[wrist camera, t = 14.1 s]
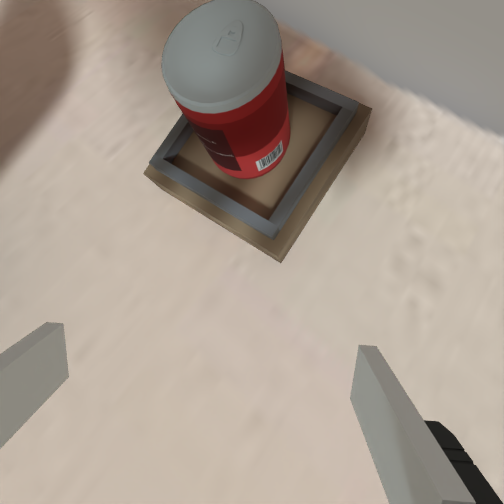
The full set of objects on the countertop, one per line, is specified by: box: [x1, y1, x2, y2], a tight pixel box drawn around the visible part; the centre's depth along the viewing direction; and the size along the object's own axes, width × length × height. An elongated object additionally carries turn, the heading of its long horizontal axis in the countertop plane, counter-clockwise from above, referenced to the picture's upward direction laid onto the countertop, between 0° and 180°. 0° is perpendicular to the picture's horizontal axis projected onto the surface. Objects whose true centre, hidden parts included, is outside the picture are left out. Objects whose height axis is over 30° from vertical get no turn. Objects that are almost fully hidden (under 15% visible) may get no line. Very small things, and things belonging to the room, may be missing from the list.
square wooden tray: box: [143, 71, 372, 263], centre depth 31 cm, size 16×16×6 cm
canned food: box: [162, 0, 290, 179], centre depth 25 cm, size 8×8×11 cm
